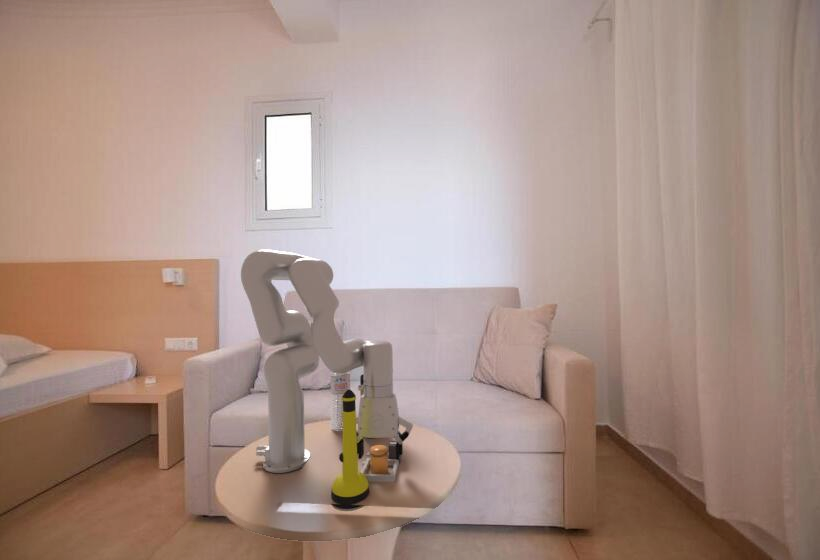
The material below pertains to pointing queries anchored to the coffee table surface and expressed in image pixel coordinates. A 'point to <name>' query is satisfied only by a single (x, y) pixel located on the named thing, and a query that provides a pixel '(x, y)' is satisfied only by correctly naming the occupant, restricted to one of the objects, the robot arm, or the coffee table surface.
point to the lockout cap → (379, 459)
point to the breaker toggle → (393, 450)
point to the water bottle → (338, 398)
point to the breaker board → (381, 476)
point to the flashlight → (349, 463)
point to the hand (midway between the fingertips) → (379, 457)
